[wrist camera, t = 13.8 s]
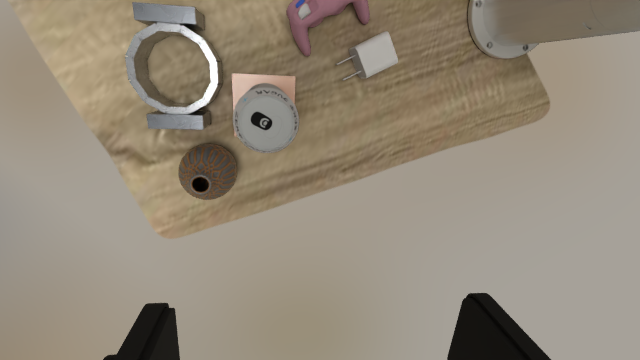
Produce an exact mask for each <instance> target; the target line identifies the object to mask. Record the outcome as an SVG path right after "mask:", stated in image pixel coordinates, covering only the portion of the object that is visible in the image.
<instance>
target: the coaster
mask: <svg viewBox="0 0 640 360" xmlns="http://www.w3.org/2000/svg"><path fill="white" fill-rule="evenodd" d="M261 83H269V84H273V85H275V86H277V87H278V88H280V89H281V90H282V91H283V92H284V93H285V94H286V95H287V96H288V97H289V98H290V99H291V100H292V101H293V103H294V105H295V76H276V75H255V74H234V73H232V90H233V112H234V109H235V106H236V104H237V102H238V101H239V99H240V98H241V97H242V96H243V95H244V94H245V93H246V92H247V91H248V90H249V89H250V88H251V87H253V86H255V85H257V84H261ZM234 136H237V134H236V132H235V130H234Z"/></svg>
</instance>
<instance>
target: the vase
mask: <svg viewBox="0 0 640 360" xmlns="http://www.w3.org/2000/svg"><path fill="white" fill-rule="evenodd" d="M236 176H237V166H236V162H235V160H234V158H233V156H232V155H231V154H230V152H229V151H227V150H226V149H225V148H223V147H221V146H219V145H215V144H202V145H198V146H196V147H194V148H192V149H191V150H189V151H188V152H187V153H186V154H185V155H184V157H183V158H182V160H181V162H180V165H179V179H180V182H181V185H182V186H183V188H184V189H185V190H186V191H187V192H188V193H189V194H190V195H192V196H194V197H196V198H199V199H203V200H211V199H216V198H218V197H221V196H223V195H224V194H226V193H227V192H228V191H229V190H230V189H231V188H232V186H233V185H234V182H235V180H236Z"/></svg>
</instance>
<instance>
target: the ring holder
mask: <svg viewBox="0 0 640 360" xmlns="http://www.w3.org/2000/svg"><path fill="white" fill-rule="evenodd" d="M132 4H133V12H134V19H135V20H137V21H139V22H142V23H144V24H146V25H149V26H148V27H147V28H145V29H143V30H141V31H140V32H138V33H136V35H134V37H133V39H132V42H131V44H130V46H129V48H128V50H127V53H126V56H128V57H125V59H126V66H127V73H128V80H131V81H129V82H130V83H131V85H132V86H133V88H134V89H135V90H136V92H137V93H138V95H139V96H140V97H141V99H142V100H143V101H145V103H147V104H149V105H151V106H153V107H154V108H156V109H158V111H155V112H152V113H149V114H147V121H148V128H154V129H202V130H203V129H205V128H206V127H207V126H208V125H210V124H211V116H210V111H197V110H198V109H200V108H202V107H204V106H206V105H207V104H209V103H211V102H213V101H214V100H215V98H216V96H217V94H218V92H219V90H220V88H221V86H222V85H223V84H222V83H223V72H222V63H221V62H222V61H221V60H220V58H219V56H218V55H217V53H216V51H215V49H214V48H213V46H212V44H211V43H210V42H209V41H208V40H206V39H204V38H203V37H201V36H200V35H198V34H197V33H195V32H194V31H192V30H190V29H193V30H205V22H204V15H203V14H202V13H201V12H199V11H198V10H197V9H196V8H195V7H188V6H175V5H162V4H150V3H137V2H132ZM170 35H174V36H187V37H188V38H190V39H191V40H193V41H194V42H196V43H198V44H199V46H200V47H201V49H202V51H203V52H204V54H205V56H206V57H207V59H208V61H209V62H210V77H211V83H210V85H209V87H208V88H207V90H206V92H205V94H204V96H203V98H202V99H200V100H199V101H197V102H195V103H193V104H176V103H175V102H173V101H171V100H169V99H167V98H166V97H164V96H162V95H160V93H159V92H158V91H157V89H156V88H155V86H154V85H153V83H152V82H151V80H150V79H149V73H148V65H147V59H148V57H149V54H150V52H151V50H152V48H153V46H154V44H155V43H157V42H159V41H161V40H162V39H164V38H166V37H168V36H170Z"/></svg>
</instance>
